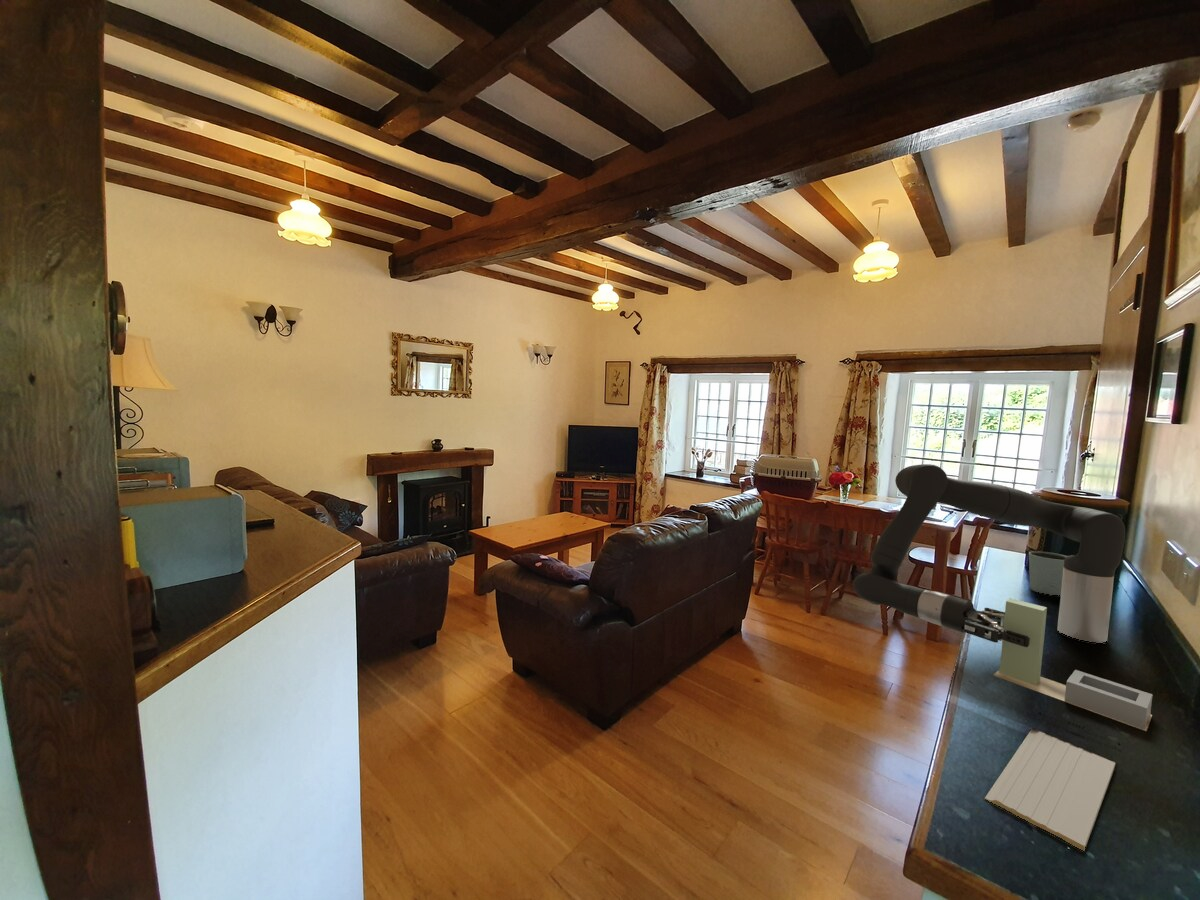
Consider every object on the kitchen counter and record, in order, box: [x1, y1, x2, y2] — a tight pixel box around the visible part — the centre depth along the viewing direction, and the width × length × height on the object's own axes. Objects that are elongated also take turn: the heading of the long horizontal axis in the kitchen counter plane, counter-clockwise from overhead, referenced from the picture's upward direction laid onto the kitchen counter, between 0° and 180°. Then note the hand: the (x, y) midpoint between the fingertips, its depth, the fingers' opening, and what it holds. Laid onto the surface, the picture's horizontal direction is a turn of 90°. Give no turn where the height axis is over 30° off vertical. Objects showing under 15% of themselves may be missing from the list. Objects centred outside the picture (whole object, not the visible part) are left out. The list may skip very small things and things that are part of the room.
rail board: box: [992, 668, 1153, 732], centre depth 97 cm, size 8×22×1 cm, turn 36°
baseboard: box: [984, 712, 1122, 852], centre depth 77 cm, size 31×3×12 cm
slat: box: [999, 597, 1048, 686], centre depth 103 cm, size 3×6×16 cm, turn 36°
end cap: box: [1064, 669, 1154, 731], centre depth 93 cm, size 8×10×4 cm
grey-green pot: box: [1028, 550, 1068, 597], centre depth 158 cm, size 10×10×12 cm
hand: (1035, 636), depth 101 cm, fingers open, 8 cm apart
